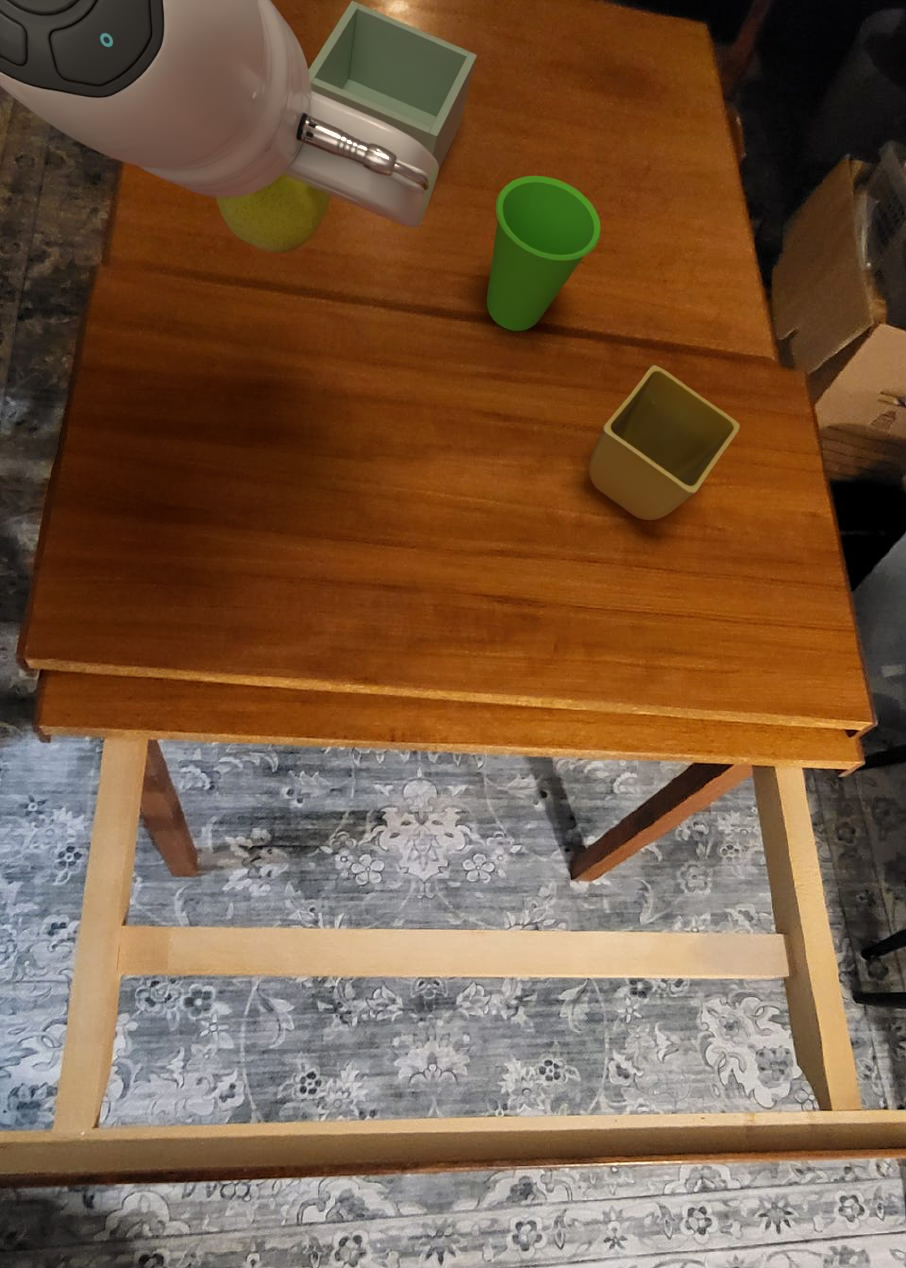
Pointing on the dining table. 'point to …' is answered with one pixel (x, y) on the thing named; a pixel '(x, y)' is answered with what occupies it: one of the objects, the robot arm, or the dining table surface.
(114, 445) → the dining table surface
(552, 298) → the cup
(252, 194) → the fruit
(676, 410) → the flower pot
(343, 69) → the bin
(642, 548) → the dining table surface
